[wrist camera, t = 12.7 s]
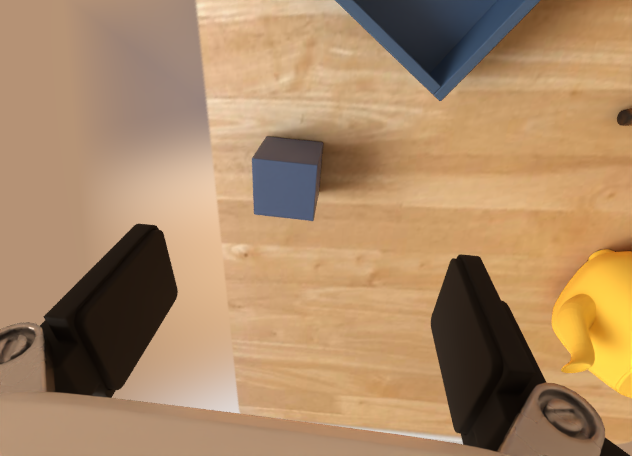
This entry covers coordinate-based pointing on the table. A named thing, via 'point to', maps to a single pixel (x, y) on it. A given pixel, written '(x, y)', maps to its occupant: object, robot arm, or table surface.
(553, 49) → the table surface
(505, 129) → the table surface
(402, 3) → the blue bin
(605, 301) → the teapot
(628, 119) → the can opener
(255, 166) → the blue block
